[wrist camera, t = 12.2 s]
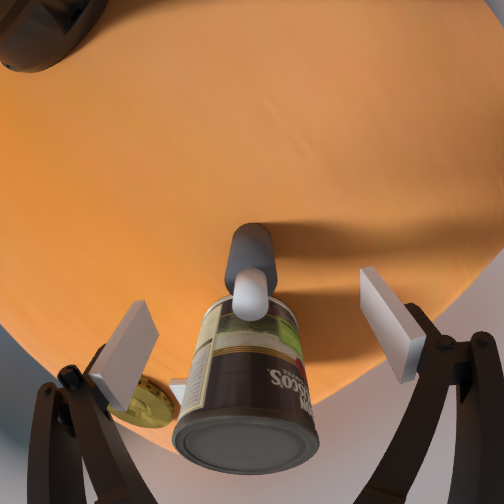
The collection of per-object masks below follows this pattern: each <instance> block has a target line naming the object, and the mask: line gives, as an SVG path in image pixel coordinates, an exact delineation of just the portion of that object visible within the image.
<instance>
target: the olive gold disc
mask: <svg viewBox="0 0 504 504" xmlns="http://www.w3.org/2000/svg"><path fill="white" fill-rule="evenodd" d="M148 380H149V379H147V378H145V377H142V376H141V377H140V379H139V382H138V384H137V387H136V389H135V391H134V394H133V396H132V399H131V401H130V404H129V406H128V409H127V411H126V412H125V411H117V410H114V409H113V408H112V406H111V405H110V404H109V405H108V407H107V409H108V410H109V412H110V413H112V414H113V415H114V416H116V417H118V418H119V419H121V420H123V421H125V422H128V423H130V424H133V425H136V426H139V427H144V428H161V427H165V426H167V425H168V424H169V423H170V422H171V419H172V415H173V411H174V404H172V403H171V401H170V400H169V398H168V397H167V396H166V395H165V394H164V393H163V392H162V391H161V390H159V389H158V388H157V387H155V386H154V385H152V384H150V383H149V382H148Z"/></svg>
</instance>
